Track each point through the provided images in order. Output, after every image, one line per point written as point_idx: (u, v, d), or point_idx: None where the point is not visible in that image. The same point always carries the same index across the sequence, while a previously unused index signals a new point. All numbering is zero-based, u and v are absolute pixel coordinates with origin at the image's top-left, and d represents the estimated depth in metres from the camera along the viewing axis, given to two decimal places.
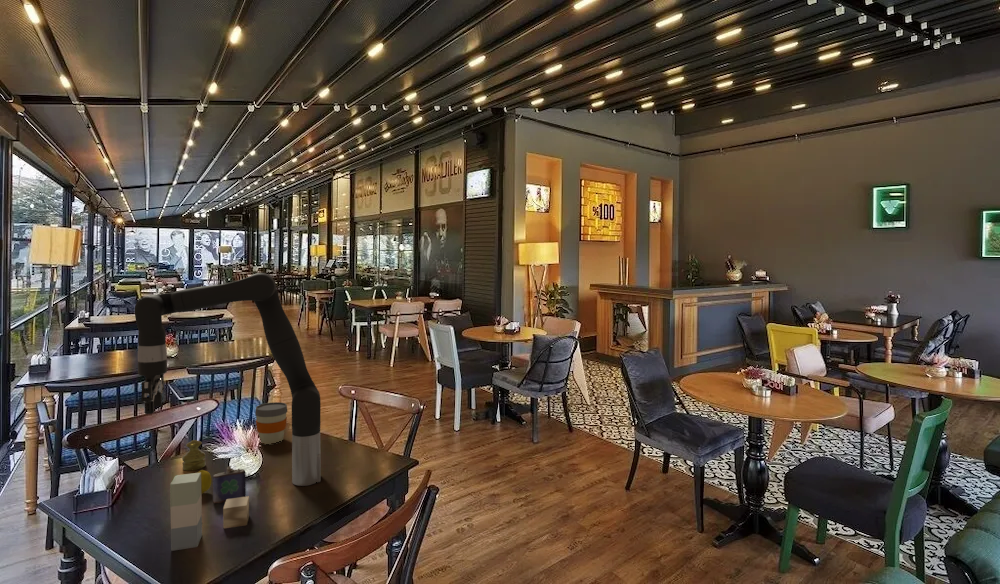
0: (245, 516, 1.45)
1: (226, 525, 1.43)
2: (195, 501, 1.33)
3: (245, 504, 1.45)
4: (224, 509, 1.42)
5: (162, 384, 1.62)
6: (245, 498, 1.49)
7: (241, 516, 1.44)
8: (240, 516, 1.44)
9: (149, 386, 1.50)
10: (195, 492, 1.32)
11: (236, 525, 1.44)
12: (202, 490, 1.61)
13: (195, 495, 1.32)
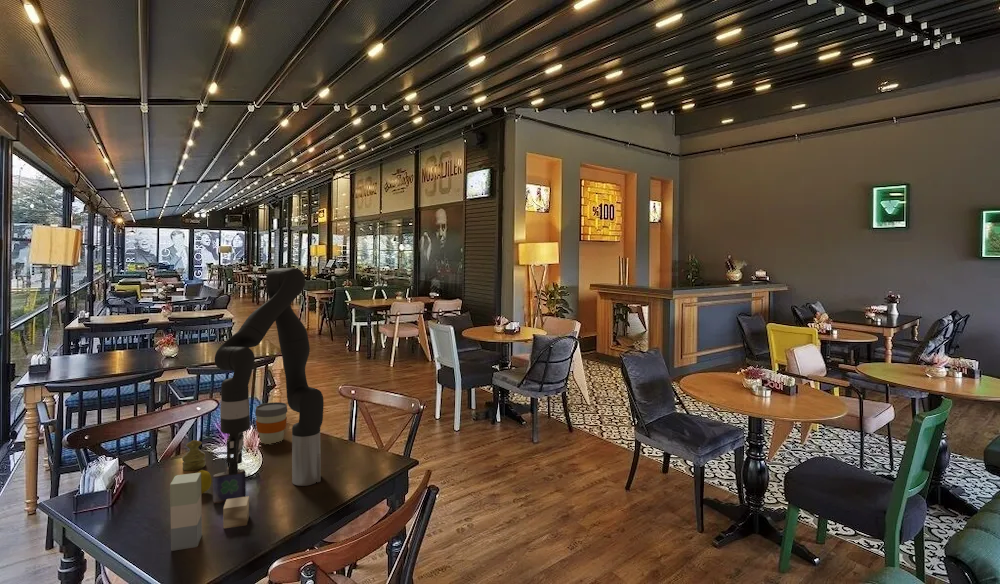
0: (245, 516, 1.45)
1: (226, 525, 1.43)
2: (195, 501, 1.33)
3: (245, 504, 1.45)
4: (224, 509, 1.42)
5: None
6: (245, 498, 1.49)
7: (241, 516, 1.44)
8: (240, 516, 1.44)
9: (235, 446, 1.39)
10: (195, 492, 1.32)
11: (236, 525, 1.44)
12: (202, 490, 1.61)
13: (195, 495, 1.32)
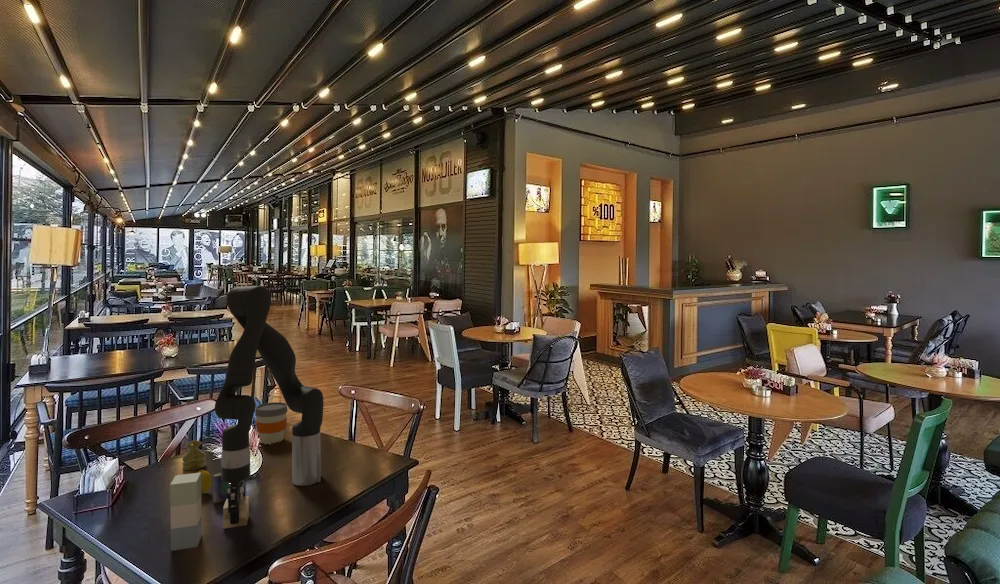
0: (245, 516, 1.44)
1: (226, 525, 1.43)
2: (195, 501, 1.33)
3: (245, 504, 1.45)
4: (224, 509, 1.42)
5: None
6: (245, 498, 1.48)
7: (240, 516, 1.44)
8: (240, 516, 1.44)
9: (236, 498, 1.40)
10: (195, 492, 1.32)
11: (236, 525, 1.44)
12: (202, 490, 1.61)
13: (195, 495, 1.32)
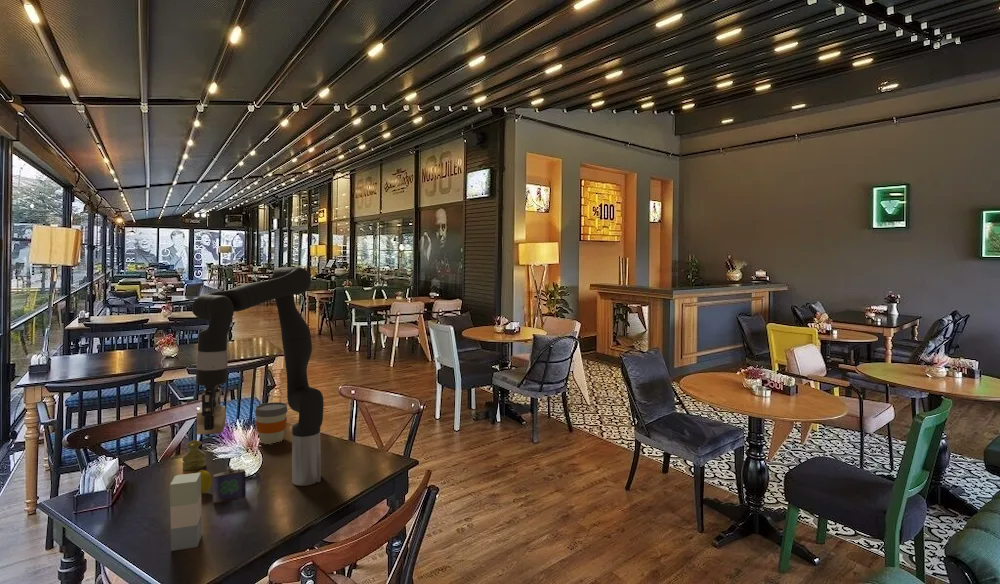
0: (220, 423, 1.37)
1: (199, 431, 1.35)
2: (195, 501, 1.33)
3: (220, 410, 1.38)
4: (198, 413, 1.35)
5: None
6: (221, 407, 1.41)
7: (215, 422, 1.37)
8: (214, 422, 1.37)
9: (210, 400, 1.33)
10: (195, 492, 1.32)
11: (210, 431, 1.36)
12: (202, 490, 1.61)
13: (195, 495, 1.32)
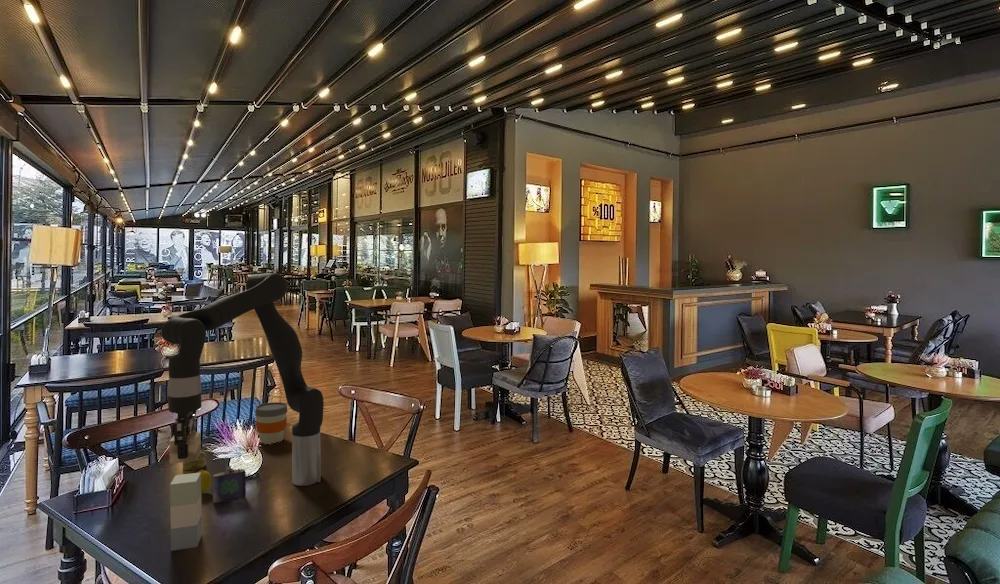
0: (194, 451, 1.32)
1: (173, 460, 1.30)
2: (195, 501, 1.33)
3: (194, 438, 1.32)
4: (170, 442, 1.30)
5: (194, 423, 1.39)
6: (196, 433, 1.36)
7: (189, 450, 1.31)
8: (188, 450, 1.31)
9: (183, 429, 1.27)
10: (195, 492, 1.32)
11: (184, 460, 1.31)
12: (202, 490, 1.61)
13: (195, 495, 1.32)
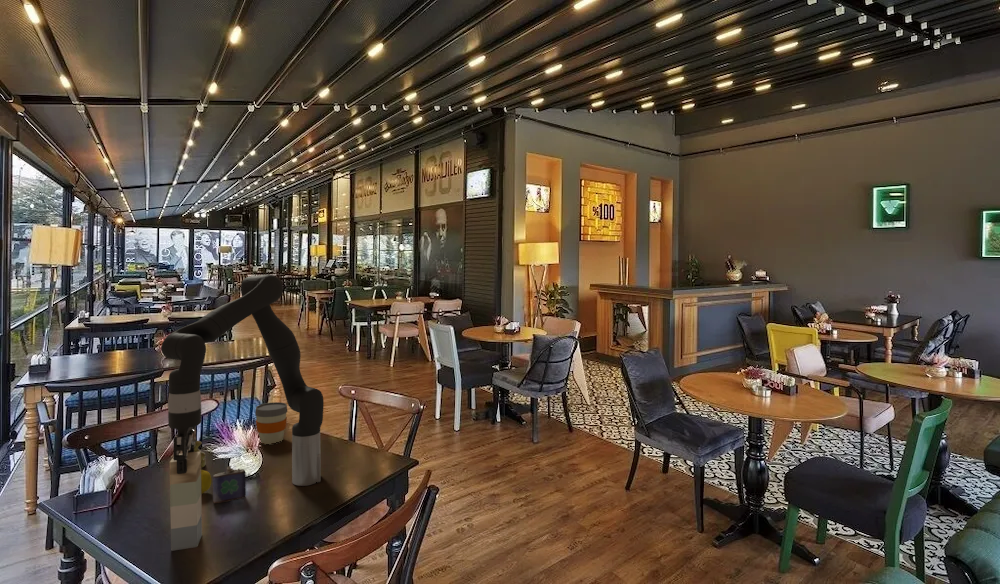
0: (194, 471, 1.32)
1: (173, 481, 1.30)
2: (195, 501, 1.33)
3: (195, 458, 1.32)
4: (171, 463, 1.30)
5: (195, 435, 1.39)
6: (196, 453, 1.36)
7: (189, 471, 1.32)
8: (188, 471, 1.32)
9: (182, 442, 1.27)
10: (195, 492, 1.32)
11: (184, 481, 1.31)
12: (202, 490, 1.61)
13: (195, 495, 1.33)
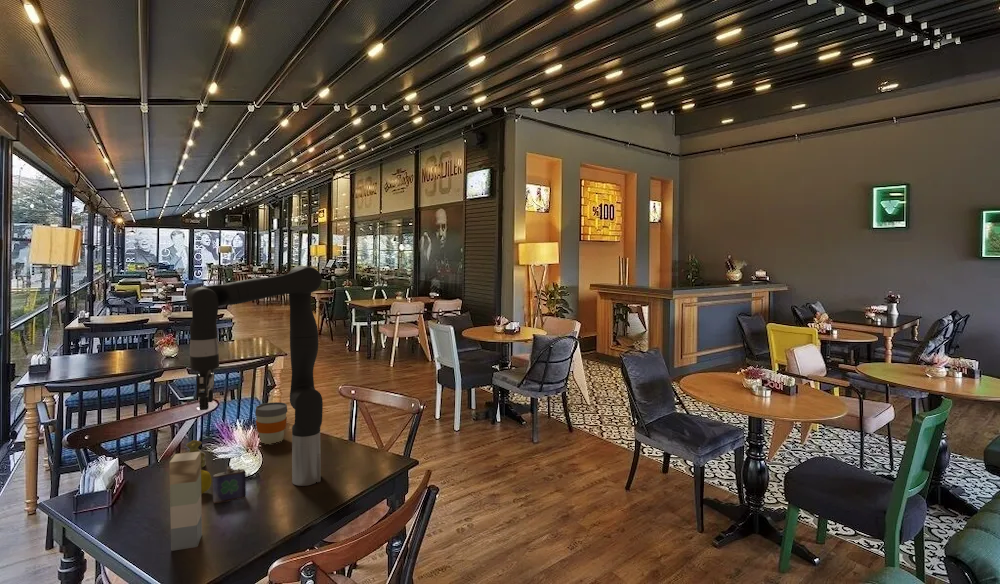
0: (194, 471, 1.32)
1: (173, 481, 1.30)
2: (195, 501, 1.33)
3: (194, 458, 1.32)
4: (170, 463, 1.30)
5: None
6: (196, 453, 1.36)
7: (189, 471, 1.32)
8: (188, 471, 1.32)
9: (204, 381, 1.45)
10: (195, 492, 1.32)
11: (184, 481, 1.31)
12: (202, 490, 1.61)
13: (195, 495, 1.32)
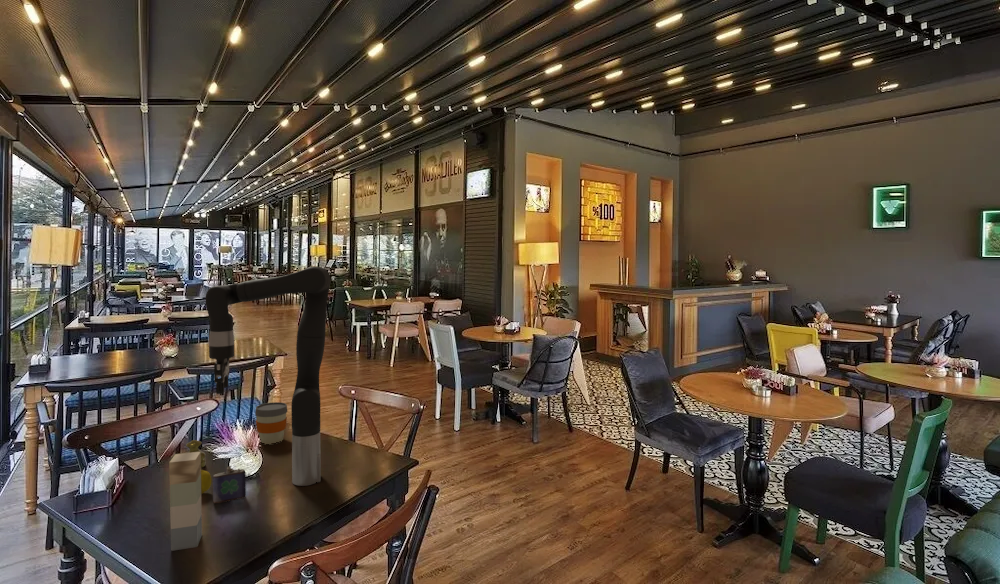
0: (194, 471, 1.32)
1: (173, 481, 1.30)
2: (195, 501, 1.33)
3: (194, 458, 1.32)
4: (170, 463, 1.30)
5: None
6: (196, 453, 1.36)
7: (189, 471, 1.32)
8: (188, 471, 1.32)
9: (221, 368, 1.64)
10: (195, 492, 1.32)
11: (184, 481, 1.31)
12: (202, 490, 1.61)
13: (195, 495, 1.32)
